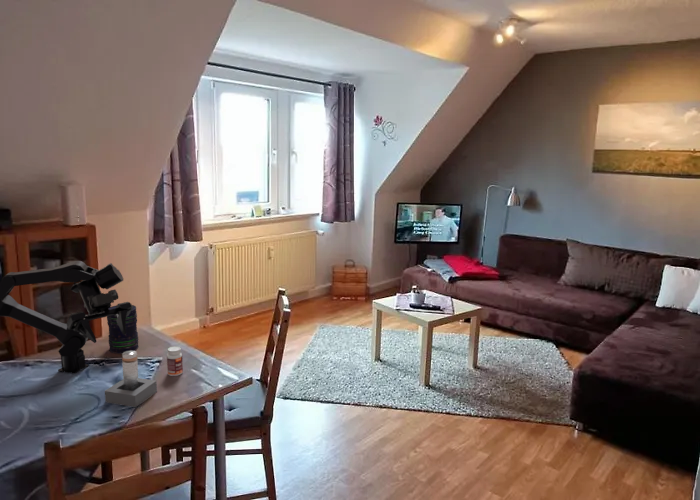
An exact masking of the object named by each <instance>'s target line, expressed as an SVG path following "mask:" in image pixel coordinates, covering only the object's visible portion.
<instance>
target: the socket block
mask: <svg viewBox="0 0 700 500" xmlns="http://www.w3.org/2000/svg"><path fill="white" fill-rule="evenodd" d="M138 385H139V388H137V389H136V390H134V391H128V390H124V383H123V379H121V380H120V381H118V382H116V383H115V384H113V385H112V386H110V387H108V388H107V389H105V390H104V400H105V403H108V404H112V405H120V406H127V407H131V408H136V407H138V406H139V405H141V404H142V403H144V402H145V401H146V400H148V399H149V398H150V397H151V396H153V395H155V393H157V392H158V386H157V380H155V379H154V380H153V379H146V378H141V377H138Z"/></svg>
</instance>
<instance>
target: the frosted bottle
mask: <svg viewBox="0 0 700 500" xmlns="http://www.w3.org/2000/svg"><path fill="white" fill-rule="evenodd" d="M138 359H139V358H138V351H136V350H134V351H126V352H124V353H121V363H122V376H123V378H122V380H123V383H124V390H128V391H134V390H136V389H137V388H139V385H138V378H139V366H138V365H139V364H138Z"/></svg>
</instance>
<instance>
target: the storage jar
mask: <svg viewBox="0 0 700 500" xmlns="http://www.w3.org/2000/svg"><path fill="white" fill-rule="evenodd" d="M116 306H117V304H116V305H113V306H112V305H111V307H109V310H110V309H115V308H116ZM132 306H133V309H132V310H131V312H130V314H129V316H127V317H126V335H124V334H123V333H122V331H121V329H120V327H119V325H118V323H117V321H116V320H117V318H116V317H115V315H112V316H107V317H106V322H107V323H106V324H107V326H108V346H109V352H110V353H113V354H122V353H124V352H126V351H136V350H138V349H139V346H140V345H139V333H138V330H137V323H138V312H137V306H136V305H134V304H132Z"/></svg>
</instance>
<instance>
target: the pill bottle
mask: <svg viewBox="0 0 700 500" xmlns="http://www.w3.org/2000/svg"><path fill="white" fill-rule="evenodd" d="M183 363H184V362H183V353H182V349H181V347H180V346H170V347H169V348H167V355H166V366H167V367H166V368H167V375H168V376H170V377H171V376H172V377H177V376H180V375H182V374H183V373H184V366H183Z"/></svg>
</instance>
